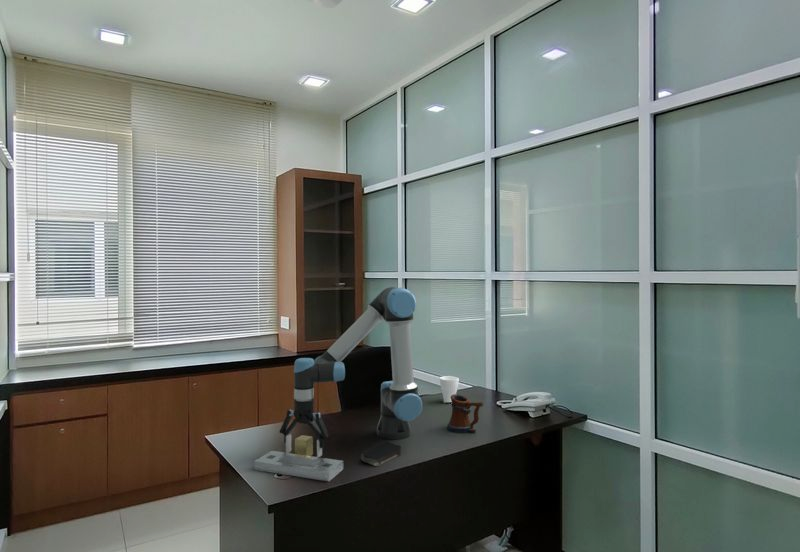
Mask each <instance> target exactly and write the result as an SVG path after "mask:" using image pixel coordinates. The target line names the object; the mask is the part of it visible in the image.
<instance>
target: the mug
mask: <svg viewBox="0 0 800 552" xmlns="http://www.w3.org/2000/svg"><path fill="white" fill-rule="evenodd" d="M451 401H452V403H451V404H450V405H451V407H452V409H451V410H452V411H451V416H450V419H449V422H448V423H447V429H448V430H449V431H450V432H454V433H458V434H459V433H464V434H465V433H469V432H470V433H476V432H477V429H475V427H474V425H476V424H478V422H479V418H480V416H479V410H480V408H481V407H483V406H484V403H483V402H482V401H480V402H470V399H469V398H468V397H467V396H465V395H463V394H458V393H456V394H453V395H452V396H451ZM471 407H475V408H474V410H473V420H472V421H471V420H470V416H469V414H470V413H471V411H472V408H471Z"/></svg>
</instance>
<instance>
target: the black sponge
mask: <svg viewBox="0 0 800 552" xmlns="http://www.w3.org/2000/svg"><path fill="white" fill-rule="evenodd" d="M400 455H402V445H400V444H395V443H393V442H388V441H386V442H385V441H384V442H381V443H380V444H377V445H376V446H374V447H371V448H369V449H367V450H364V451H362V452H361V458H360V460H361V461H362V462H364V463H367V464H369V465H371V466H375V467H378V466H379V467H380V466H381V465H383V464H385V463H387V462H389V461H391V460H393V459H395V458H396V457H399V456H400Z"/></svg>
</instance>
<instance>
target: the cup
mask: <svg viewBox="0 0 800 552" xmlns="http://www.w3.org/2000/svg"><path fill="white" fill-rule="evenodd" d="M459 381H460V378H459V377H458V376H453V375H446V376H445V375H444V376H440V377H439V384H440V389H441V393H442V398H443V399H442V400H443V403H444V402H452V401H451V396H452V395H453V394H457V392H458V387H459V384H460V383H459Z"/></svg>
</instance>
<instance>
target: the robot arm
mask: <svg viewBox="0 0 800 552" xmlns="http://www.w3.org/2000/svg"><path fill="white" fill-rule="evenodd" d="M416 301H417V300H416V297H415V295H414V294H413V293H412V292H411V291H410V290H409V289H406V288H404V287H393V286H391V287H386V288H385V289H383V290H381V292H380V293H378V294H377V296H376V297H374V299H372V301H371V302H370V303H369V304H368V305H367V309H366V311H364V312H363V313H362V314H361V315H360V316H359V317H358V319H356V320H355V322H353V324H352V325H351V326H349V327H348V328H347V330H346V331H345V332H344V333H342V335H340V337H338V339H337V340H336V341H335V342H333V344H332V345H331V346H330V347H329V348H328V349H327V350H326V351H325V352H324V353H323V354H322V355H319V356H317V357H316V358H315V359H314V358H311V357H299V358H297V359H295V361H294V367H293V385H294V386H293V399H294V400H293V408H290V409H289V410H287V411H286V416H285V418H284V421H283V423H282V425H281V428H280V429H279V433H280V434H282V435H283V442H284V444H285V453H291V451H292V434H291V432H292V430H293V429H294V428H295V426H297V424H304V425H308V426H309V427H310V428H311V430H312V431H313V433H314V434H315V436H317V438H318V439H317V440H316V457H320V458H321V456H323V448H324V447H325V439H328V438H329V432H328V430H327V428H326V425H325V423H324V419H323V418H322V412H321V411H319V412H314V408H315V400H314V397H315V394H314V393H315V388H314V387H315V383H316V384H317V383H330V382H331V383H333V382H335V383H336V382H340V381H341V382H342V381H344V380H345V377H346V368H345V363H344V362H342V361H343V360H344V359H345V358H346V357H347V356H348V355H349V354H350V353H351V352H352V351H353V350H354V349H355V348H356V347H357V346H358V345H359V343H361V342H362V340H364V339H365V337H367V335H368V334H369V333H371V332H372V330H374V328H375V327H376V326H378V324H379V323H380V322H384V321H385V322H386V324H387V325H388V327H389V328H388V329H389V342H390V343H389V345H390V359H391V372H392V373H391V375H392V380H389V381H383V382H382V383H381V384H380V418H379V421H378V423H377V427H376V435H377V437H379V438H383V439H387V440H400V439H401V440H402V439H405V438H408V437H410V436H411V435H412V427H411V424H410V422H411V421H413V420H415V419H417V418H418V417H419V415H420V414H421V413H422V410H423V401H422V398H421V397H420V396H419V389H418V388H419V387H418V384H417V383H416V382H415V381H414V368H413V367H414V366H413V364H414V363H413V353H412V352H413V351H412V337H411V336H412V335H411V334H412V333H411V332H412V331H411V324H412V323H413V322H414V312H415V311H416V308H417V302H416ZM293 409H294V410H293ZM293 416H294V417H295V418H294V419H293V420H292V418H293ZM291 420H292V422H291ZM290 422H291V423H290Z"/></svg>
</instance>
